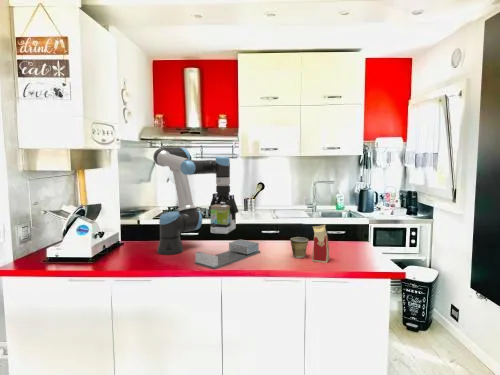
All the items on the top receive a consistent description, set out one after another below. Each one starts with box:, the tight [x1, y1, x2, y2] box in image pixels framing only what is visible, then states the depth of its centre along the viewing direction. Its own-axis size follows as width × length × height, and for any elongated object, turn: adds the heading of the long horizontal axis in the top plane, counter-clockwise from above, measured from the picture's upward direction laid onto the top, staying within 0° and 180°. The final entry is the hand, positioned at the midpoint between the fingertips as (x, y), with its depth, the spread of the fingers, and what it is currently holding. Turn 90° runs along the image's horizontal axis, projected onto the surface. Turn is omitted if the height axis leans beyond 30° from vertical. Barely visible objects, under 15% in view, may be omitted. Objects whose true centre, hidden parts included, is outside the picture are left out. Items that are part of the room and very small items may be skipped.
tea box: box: [210, 202, 237, 235], centre depth 192 cm, size 15×10×15 cm
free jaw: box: [228, 239, 260, 254], centre depth 207 cm, size 14×10×4 cm
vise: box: [194, 250, 261, 270], centre depth 197 cm, size 15×38×6 cm, turn 141°
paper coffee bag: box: [311, 224, 330, 264], centre depth 192 cm, size 9×9×20 cm
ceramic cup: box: [290, 236, 309, 259], centre depth 201 cm, size 13×10×10 cm
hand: (223, 224), depth 192 cm, fingers closed on tea box, 12 cm apart
